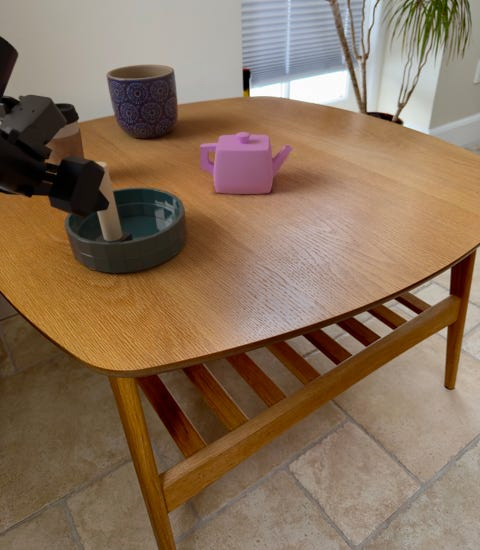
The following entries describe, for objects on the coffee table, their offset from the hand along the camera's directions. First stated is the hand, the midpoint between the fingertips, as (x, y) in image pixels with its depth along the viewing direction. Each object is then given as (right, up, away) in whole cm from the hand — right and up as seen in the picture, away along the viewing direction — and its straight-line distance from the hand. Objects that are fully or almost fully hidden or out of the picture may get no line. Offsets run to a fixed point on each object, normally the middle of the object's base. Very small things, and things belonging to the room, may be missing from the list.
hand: (82, 199), depth 59 cm
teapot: (+23, +8, +29) cm, 37 cm away
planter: (-2, +27, +56) cm, 62 cm away
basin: (+4, -5, +12) cm, 13 cm away
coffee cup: (-14, +10, +32) cm, 37 cm away
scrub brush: (+2, -6, +9) cm, 11 cm away
